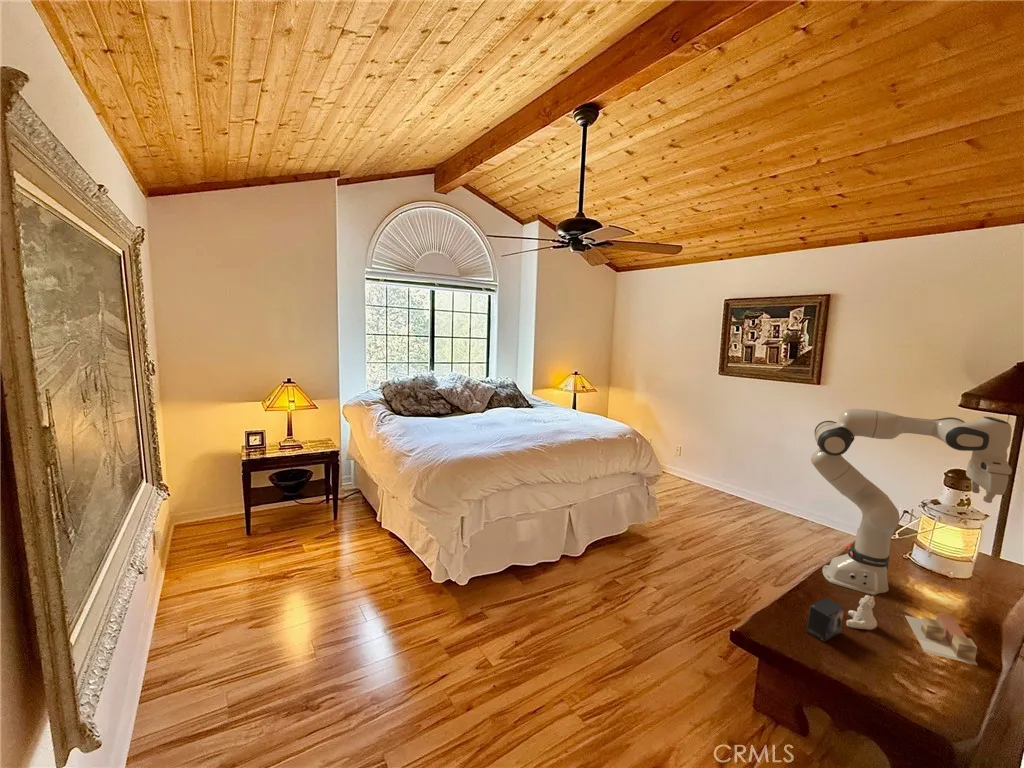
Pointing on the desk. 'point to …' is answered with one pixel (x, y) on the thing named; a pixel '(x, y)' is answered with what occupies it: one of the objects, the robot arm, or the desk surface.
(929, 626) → the pillar
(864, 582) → the robot arm
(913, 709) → the desk surface
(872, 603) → the seated beast figurine
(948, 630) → the lintel
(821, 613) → the small box
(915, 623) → the blueprint mat
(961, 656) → the pillar
